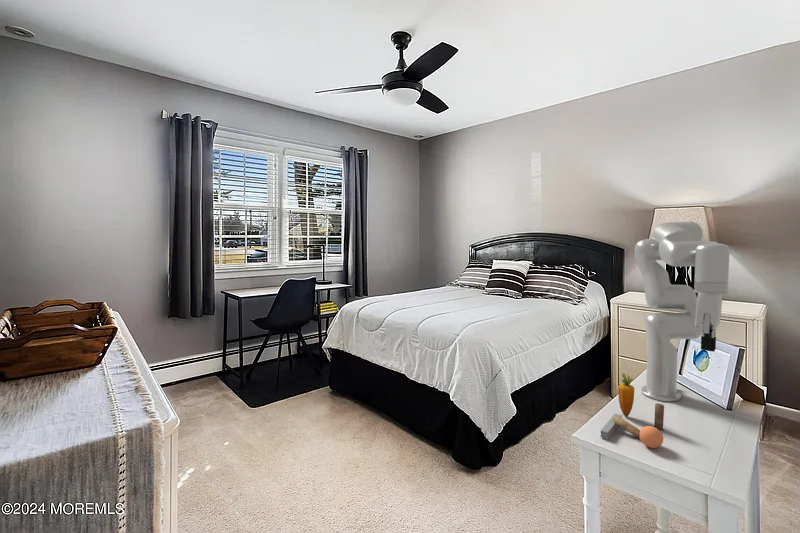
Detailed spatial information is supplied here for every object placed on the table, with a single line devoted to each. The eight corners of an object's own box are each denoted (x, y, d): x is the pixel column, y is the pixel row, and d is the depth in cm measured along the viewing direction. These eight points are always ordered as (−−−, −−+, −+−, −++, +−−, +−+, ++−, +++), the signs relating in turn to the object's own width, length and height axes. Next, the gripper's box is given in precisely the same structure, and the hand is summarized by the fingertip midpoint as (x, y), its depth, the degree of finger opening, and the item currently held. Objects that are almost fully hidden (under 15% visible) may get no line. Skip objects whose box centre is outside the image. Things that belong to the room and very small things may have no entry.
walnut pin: (654, 425, 130) (655, 402, 129) (663, 428, 128) (664, 404, 127) (653, 429, 128) (654, 405, 127) (662, 431, 126) (663, 407, 125)
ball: (656, 420, 118) (667, 435, 119) (635, 423, 122) (646, 437, 123) (656, 436, 114) (667, 451, 115) (634, 438, 118) (646, 453, 118)
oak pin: (640, 437, 124) (614, 420, 130) (643, 430, 123) (617, 414, 129) (637, 439, 122) (611, 422, 128) (640, 433, 122) (615, 416, 127)
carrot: (636, 420, 134) (637, 377, 132) (620, 419, 135) (621, 377, 133) (631, 413, 138) (632, 372, 137) (615, 412, 139) (616, 371, 138)
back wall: (614, 420, 134) (615, 413, 134) (621, 422, 133) (621, 415, 133) (600, 437, 124) (600, 430, 124) (607, 440, 123) (607, 432, 123)
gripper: (698, 282, 121) (696, 341, 123) (689, 290, 110) (687, 354, 112) (730, 284, 116) (727, 345, 118) (724, 292, 105) (721, 360, 107)
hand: (708, 349), depth 115 cm, fingers closed
